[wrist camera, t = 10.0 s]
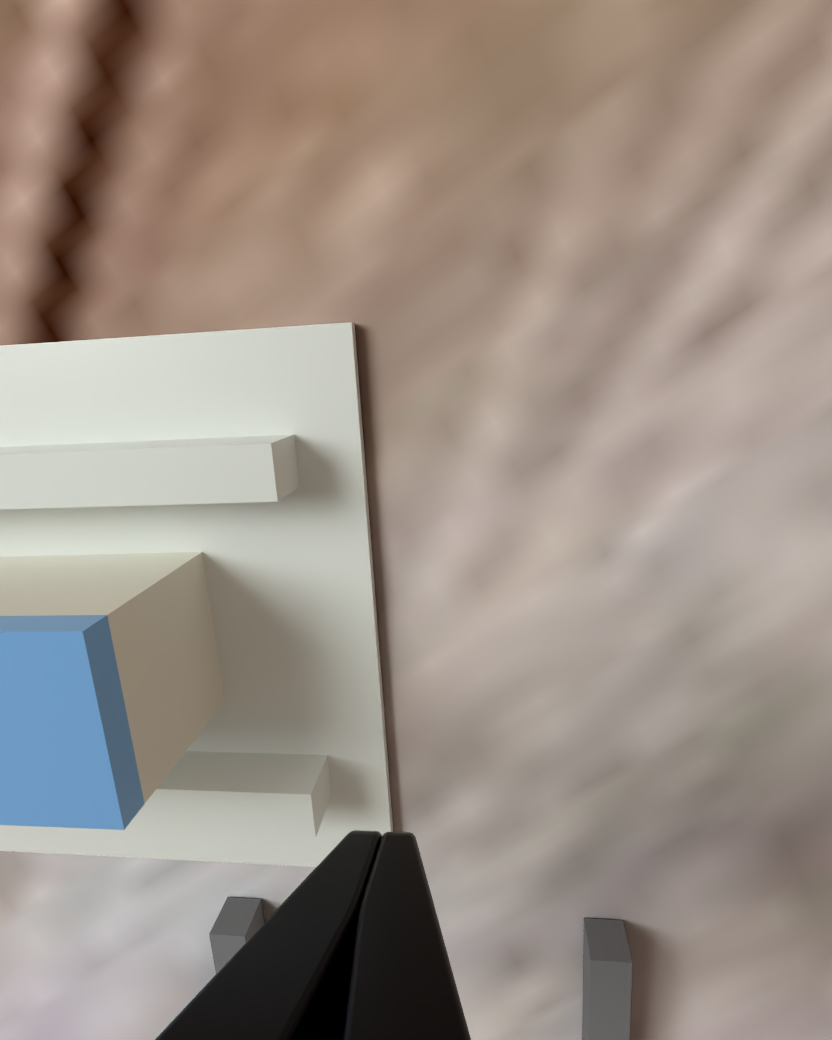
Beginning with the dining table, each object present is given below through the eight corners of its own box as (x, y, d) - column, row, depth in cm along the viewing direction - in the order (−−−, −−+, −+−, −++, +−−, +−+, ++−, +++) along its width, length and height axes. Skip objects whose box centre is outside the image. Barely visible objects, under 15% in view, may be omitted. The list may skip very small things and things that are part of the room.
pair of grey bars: (617, 1062, 18) (626, 1111, 17) (248, 1029, 19) (232, 1072, 18) (622, 920, 16) (632, 963, 15) (227, 897, 18) (209, 933, 17)
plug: (225, 701, 16) (124, 830, 12) (-21, 698, 17) (-200, 817, 12) (202, 551, 15) (82, 631, 11) (-58, 558, 16) (-266, 633, 11)
